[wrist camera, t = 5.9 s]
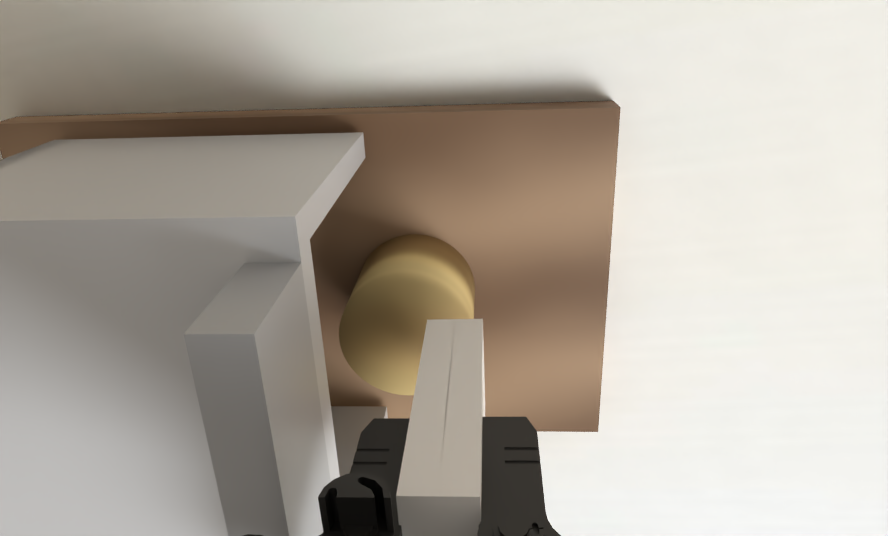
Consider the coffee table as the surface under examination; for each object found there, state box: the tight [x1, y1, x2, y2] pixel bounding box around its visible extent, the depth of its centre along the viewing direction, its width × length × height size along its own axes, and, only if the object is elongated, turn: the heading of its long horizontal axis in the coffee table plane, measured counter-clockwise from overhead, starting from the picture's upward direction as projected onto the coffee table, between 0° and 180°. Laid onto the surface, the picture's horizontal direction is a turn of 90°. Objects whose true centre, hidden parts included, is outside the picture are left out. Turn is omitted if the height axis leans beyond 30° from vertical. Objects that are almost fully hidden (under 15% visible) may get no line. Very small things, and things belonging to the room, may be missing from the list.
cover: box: [0, 132, 388, 536], centre depth 18 cm, size 11×10×11 cm
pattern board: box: [0, 101, 620, 432], centre depth 22 cm, size 12×20×5 cm, turn 92°
